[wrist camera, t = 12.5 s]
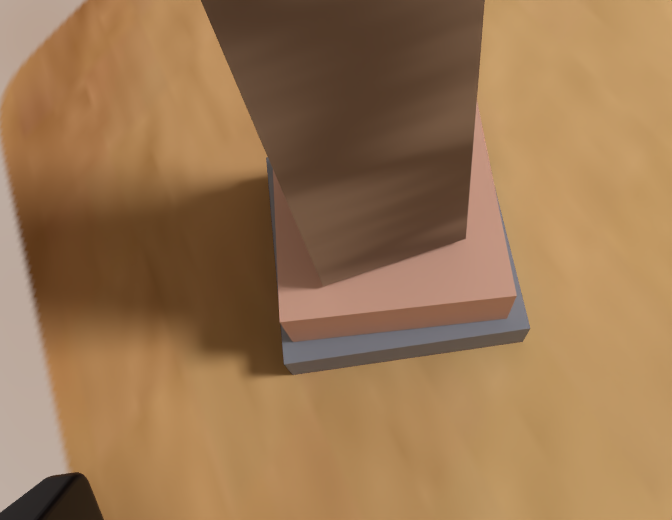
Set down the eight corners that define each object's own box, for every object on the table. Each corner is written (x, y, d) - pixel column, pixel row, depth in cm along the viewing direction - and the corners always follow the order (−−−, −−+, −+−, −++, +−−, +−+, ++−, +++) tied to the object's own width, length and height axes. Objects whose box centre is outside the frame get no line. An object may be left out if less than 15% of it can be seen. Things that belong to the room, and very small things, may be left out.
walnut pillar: (415, 125, 21) (392, -260, 11) (465, 238, 19) (492, -110, 9) (286, 168, 21) (151, -178, 11) (322, 286, 19) (196, -11, 9)
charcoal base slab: (473, 154, 25) (478, 121, 23) (519, 346, 22) (530, 328, 20) (278, 186, 26) (266, 157, 24) (295, 379, 23) (283, 364, 21)
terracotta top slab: (471, 136, 23) (476, 99, 21) (507, 318, 20) (517, 295, 18) (283, 161, 24) (270, 127, 22) (293, 342, 21) (279, 322, 19)
